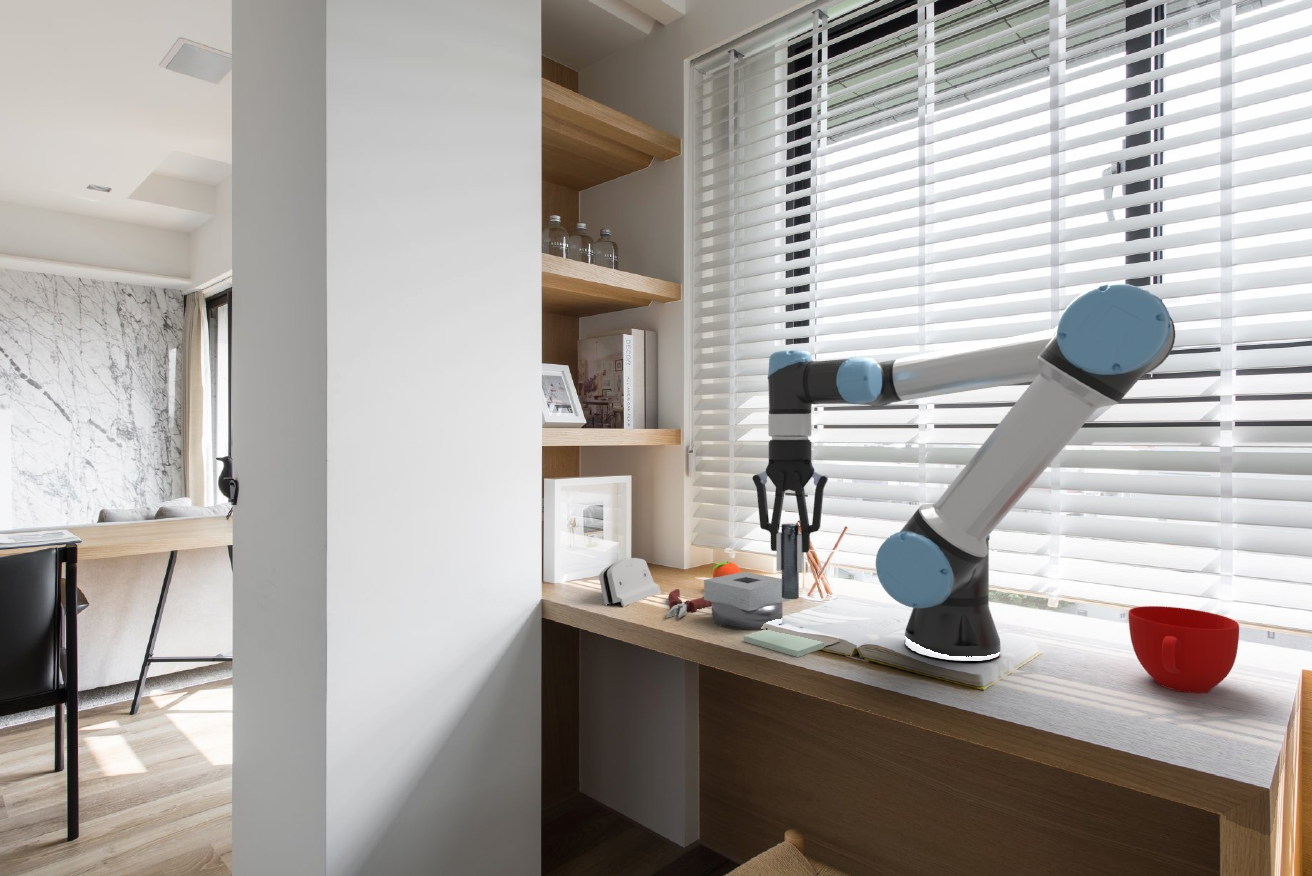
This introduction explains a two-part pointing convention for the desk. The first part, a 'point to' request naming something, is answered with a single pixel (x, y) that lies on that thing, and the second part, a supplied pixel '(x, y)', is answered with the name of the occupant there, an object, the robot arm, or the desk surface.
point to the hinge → (627, 582)
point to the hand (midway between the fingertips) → (790, 569)
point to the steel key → (790, 561)
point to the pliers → (688, 605)
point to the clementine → (725, 569)
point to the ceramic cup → (1184, 646)
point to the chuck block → (744, 600)
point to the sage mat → (784, 642)
